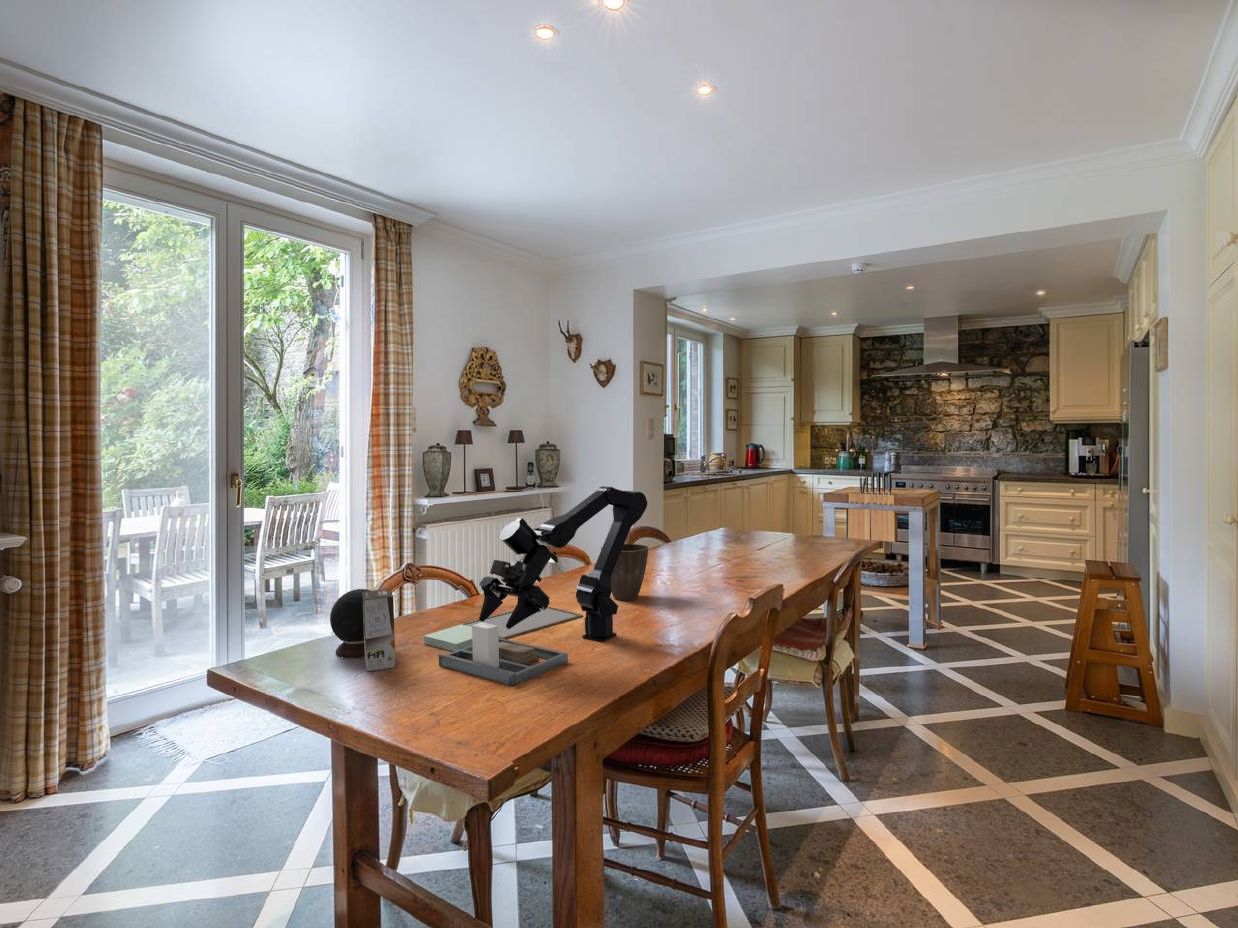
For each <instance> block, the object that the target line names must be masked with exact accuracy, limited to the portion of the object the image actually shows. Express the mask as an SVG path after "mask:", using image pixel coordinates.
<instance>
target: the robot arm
mask: <svg viewBox="0 0 1238 928" xmlns="http://www.w3.org/2000/svg"><path fill="white" fill-rule="evenodd" d="M648 502H649V501H648V500H647V496H646V495H645V494H644V493H643V492H641V491H633V490H621V489H617V488H615V487H613V486H604V485H603V486H600V487H598V488H597V489H596V490H595V492H593V493H591V494H590V495H589V496H587V497H586V498H585V499H583V500H582V501H580V502H579V503H578V504H577V505H575V506H574V507H573V508H572V509H570V510H569V511H567V512H566V513H564V514H563V515H560V516H556V517H553V518H550V519H548V520H547V521H545V522H543V523H541V524H540V525H539V527H536V528H532V527H531V526H530V525H529V524H528V523H527V521H526V519H524V517H517V518H516V519H515V520H514V521H511V522H510V523H508V524H507V525H506V526H504V527H503V528H502V530H501V531H500V532H499V539H500V541H502V542H503V543H504V544H505V545H506V546H507V547H508V548H509V549H510V551H512V552H513V553H514V554H515V555H517V556H518V555H522V557H521V558H520V560H517V559H516V560H515V559H513V560H512V561H511V562H510V561H509V562H508V561H504V560H497V559H494V560H493V563H492V565H491V569H490V571H489V574H491V575H495V576H499V577H501V578H500V579H499V578H497V577H493V576H484V577H482V579H481V580H480V582H479V586H480V587H481V591H482V592H483V596H484V597H483V603H482V606H481V609H480V614H479V617H478V619H479V620H480V621H481V622H483V621H485V620H486V619H487V618H488V617H490V616H492V614H493V613H494V612H495V611H496V610H497V609H498V608H499V607H500V606H502V604H504V601H503V600H505V599H506V598H507V597H508V596H512V597H516V598H517V602H516V605H515V607H514V609H513V610H514V611H513V610H512V611H513V613H512V614H511V616H510V618H509V620H508V622H507V624H506V628H507V629H510V628H512V627H513V626H515V625H516V624H518V623H520V622H521V621H523V620H524V619H526V618H528V617H529V616H531V615H533V614H535V613H536V612H540V611H541V610H546V608H547V607H549V605H550V597H549V595H548V594H546V593H545V591H544V590H543V589H542V588H541V587H540V586H538V585H535V584H536V583H538V584H539V583H541V581H542V578H541V577H540V575H541V574H542V573H543V571H544V569H545V568H546V567H547V565H548V563H551V564H557V563H558V562H559V559H558V557H557V551H552V550H550V549H549V547H551V548H556V549H562V548H564V547H566V546H567V545H568V544H569V543H570V541H571V540H573V538H574V537H576V536H575V535H576V532H577V531H578V529H579V528H580V527H582V526H583V525H584V524H585V523H587V522H588V521H589V520H591V519H592V518H593V517H594V516H596V515H597V514H598V513H600V512H601V511H602V510H604V509H606V507H608V506H609V505H611V506H613V507H612V515H613V521H612V523H611V526H610V528H609V530H608V533H607V535H606V538H605V540H604V542H603V546H601V547H602V550H600V553H599V554H598V557H597V560H596V561H595V564H594V567H593V569H592V571H591V572H590V573H588V574H582V575H581V576H580V578H579V579H580V580H579V583H578V584H577V585H576V587H575V590H576V592H575V598H576V600H577V603H578V604H579V606H580V608H581V611H582V612H585V617H584V633H585V634H582V635H581V637H582V638H584V639H589V640H594V641H598V642H604V641H606V640H609V639H611V638H614V637H616V636H617V632H614V622H613V621H614V620H613V618H614V617H613V616H614V615H617V613H618V609H619V605H618V604H617V602H616V601H614V600H613V599H612V597H611V595H612V592H611V591H612V587H611V576H612V574H613V571H614V569H615V566H616V564H617V561H618V559H619V556H620V554H621V551H622V549H623V546H624V544H626V541H627V538H628V536H629V533H630V531H631V528H632V527H633V526H634V525H635V524H636V523H637V522H638V521H640V519H642V517H643V515H644V513H645V512H646V509H647V507H648ZM504 584H505V585H504ZM540 609H541V610H540Z"/></svg>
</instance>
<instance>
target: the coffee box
mask: <svg viewBox="0 0 1238 928" xmlns="http://www.w3.org/2000/svg"><path fill="white" fill-rule="evenodd" d="M394 601H395V600H394V595H393V592H392V590H391V588H385V589H376V590H375V589H374V590H371V591H367V592H363V625H364V649H365V658H364V662H365V663H364V664H365V670H366V672H372V671H373V672H374V671H379V670H387V669H394V668H396V643H395V641H396V640H395V639H396V637H395V608H394V607H395V605H394Z"/></svg>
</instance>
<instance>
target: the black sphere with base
mask: <svg viewBox="0 0 1238 928" xmlns="http://www.w3.org/2000/svg"><path fill="white" fill-rule="evenodd" d="M367 591H372V590H370V589H365V588H358V589H357V588H356V589H353V590H350V591H347V592H345V593H344V594H342V595H341V596H339V598H338V599H337V600H336V601H335V602H334V604H333V606H332V608H331V611H330V613H329V615H330V616H329V622H330V627H331V630H332V633H334V635H335V636H336V637H337V638H338V639H339V640H340V641H342V643H340V644H339V645H338V647H337V648H336V650H335V656H336V655H337V656H339V657H343V658H342V659H345V658H357V659H363V658H362V657H365V649H364V625H363V592H367ZM337 656H336V657H337ZM339 657H338V658H339Z"/></svg>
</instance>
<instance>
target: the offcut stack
mask: <svg viewBox="0 0 1238 928" xmlns="http://www.w3.org/2000/svg"><path fill="white" fill-rule="evenodd" d="M499 659H503V660H507V661H511V662H515V663H519V664H523V665H527V666H531V665H532V666H533V664H534V665H536V664H538V663H539V662H540V657H536V652H535V648H531V647H526V646H521V645H516V644H511V643H506V642H499ZM538 661H539V662H538ZM537 662H538V663H537ZM535 663H536V664H535Z"/></svg>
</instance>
